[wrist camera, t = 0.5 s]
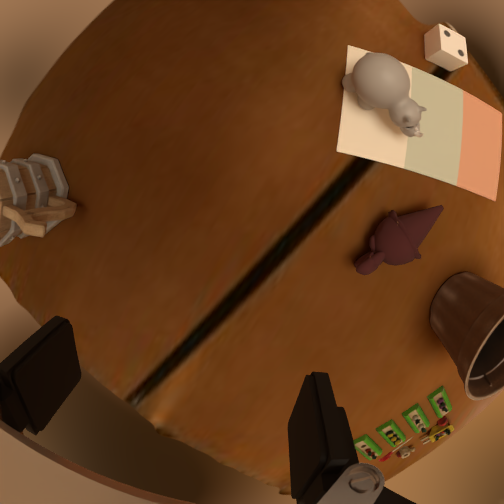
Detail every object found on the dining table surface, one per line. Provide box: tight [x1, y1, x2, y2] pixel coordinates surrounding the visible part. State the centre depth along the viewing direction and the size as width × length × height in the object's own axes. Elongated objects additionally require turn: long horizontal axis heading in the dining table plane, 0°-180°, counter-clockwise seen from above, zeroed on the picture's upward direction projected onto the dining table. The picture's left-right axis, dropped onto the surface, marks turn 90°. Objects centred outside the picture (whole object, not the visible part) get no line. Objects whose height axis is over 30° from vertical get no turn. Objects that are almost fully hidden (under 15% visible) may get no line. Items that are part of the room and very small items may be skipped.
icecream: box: [354, 205, 443, 275], centre depth 34 cm, size 7×7×15 cm
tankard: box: [0, 154, 77, 247], centre depth 31 cm, size 20×13×15 cm, turn 71°
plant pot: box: [430, 272, 504, 400], centre depth 32 cm, size 16×16×16 cm
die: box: [424, 24, 468, 71], centre depth 26 cm, size 5×5×5 cm
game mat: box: [336, 45, 502, 201], centre depth 32 cm, size 16×30×1 cm, turn 82°
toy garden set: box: [353, 386, 454, 461], centre depth 47 cm, size 23×19×5 cm
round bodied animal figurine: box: [342, 52, 427, 137], centre depth 28 cm, size 7×12×8 cm, turn 38°
